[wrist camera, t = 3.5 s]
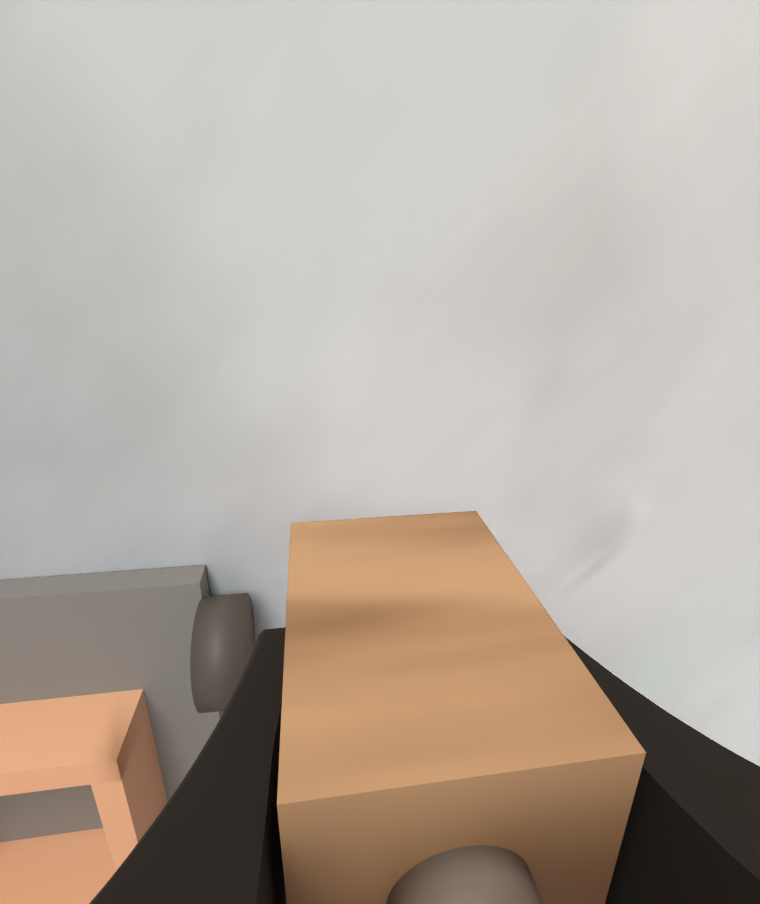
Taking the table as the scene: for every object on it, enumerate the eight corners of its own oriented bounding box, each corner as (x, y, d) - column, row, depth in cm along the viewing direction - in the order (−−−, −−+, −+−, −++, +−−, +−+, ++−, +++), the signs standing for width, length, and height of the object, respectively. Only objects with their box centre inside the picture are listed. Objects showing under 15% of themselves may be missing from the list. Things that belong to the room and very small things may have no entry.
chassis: (278, 855, 26) (273, 960, 22) (-43, 905, 24) (-110, 1030, 20) (247, 561, 19) (233, 635, 16) (-195, 594, 17) (-339, 689, 13)
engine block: (463, 655, 14) (619, 1033, 7) (300, 672, 13) (297, 1105, 6) (476, 510, 12) (693, 819, 5) (290, 523, 11) (273, 889, 5)
